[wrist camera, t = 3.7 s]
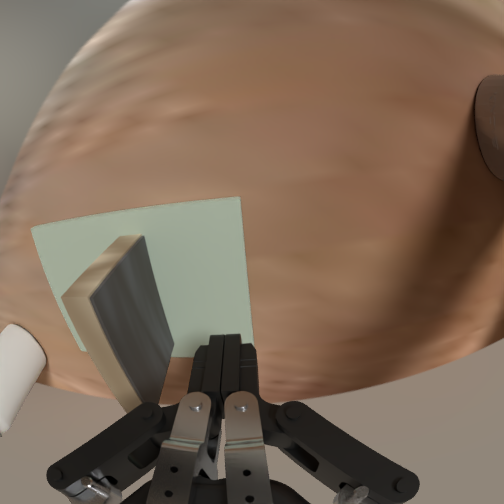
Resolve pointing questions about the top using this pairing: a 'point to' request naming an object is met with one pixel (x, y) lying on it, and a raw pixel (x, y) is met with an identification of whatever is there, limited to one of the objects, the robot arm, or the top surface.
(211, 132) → the top surface
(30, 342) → the can
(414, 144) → the top surface
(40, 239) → the mat
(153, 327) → the tile
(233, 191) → the top surface
